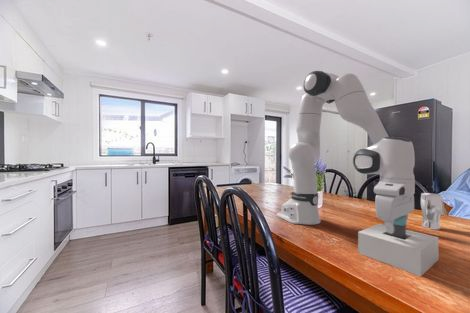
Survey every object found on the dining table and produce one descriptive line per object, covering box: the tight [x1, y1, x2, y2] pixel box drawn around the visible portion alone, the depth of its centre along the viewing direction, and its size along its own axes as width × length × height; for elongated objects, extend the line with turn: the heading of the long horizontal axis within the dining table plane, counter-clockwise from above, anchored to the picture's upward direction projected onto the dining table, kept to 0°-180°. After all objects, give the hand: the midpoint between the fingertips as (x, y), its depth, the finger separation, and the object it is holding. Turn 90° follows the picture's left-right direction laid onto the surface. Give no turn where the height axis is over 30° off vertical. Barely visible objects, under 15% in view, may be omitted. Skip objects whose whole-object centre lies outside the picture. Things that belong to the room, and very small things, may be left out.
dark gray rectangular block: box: [390, 216, 407, 240], centre depth 66 cm, size 4×4×12 cm
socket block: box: [357, 223, 439, 277], centre depth 66 cm, size 16×16×7 cm
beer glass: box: [420, 192, 443, 231], centre depth 91 cm, size 7×7×15 cm
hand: (396, 229), depth 66 cm, fingers open, 8 cm apart
